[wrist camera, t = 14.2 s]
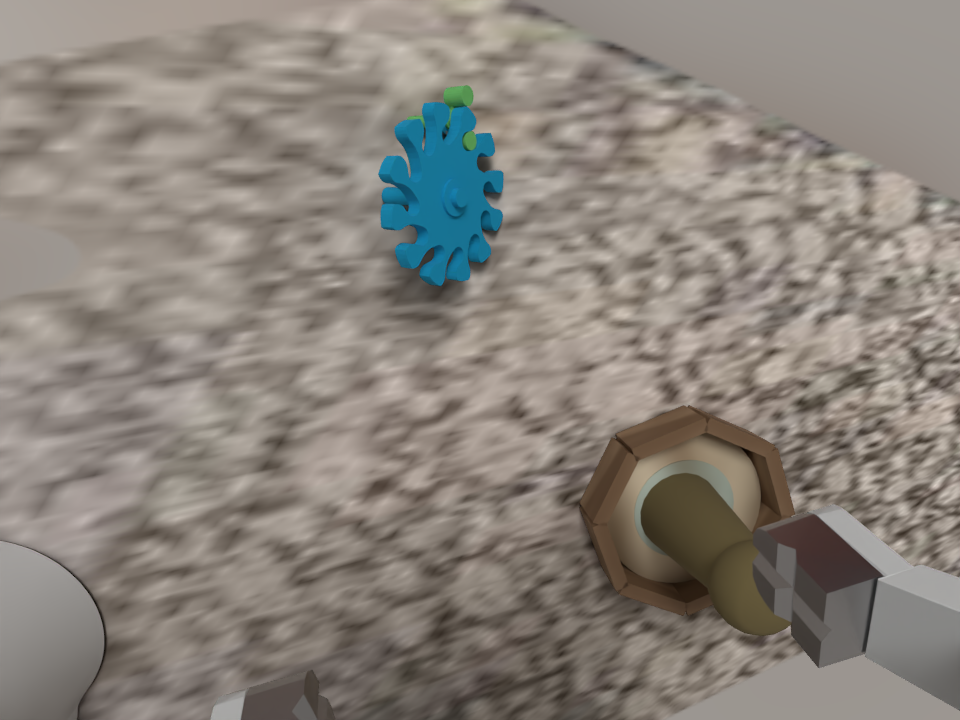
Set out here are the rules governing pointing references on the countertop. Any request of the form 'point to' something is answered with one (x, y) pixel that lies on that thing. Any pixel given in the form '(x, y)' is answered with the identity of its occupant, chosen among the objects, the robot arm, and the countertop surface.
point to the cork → (709, 548)
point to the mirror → (657, 455)
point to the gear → (442, 189)
